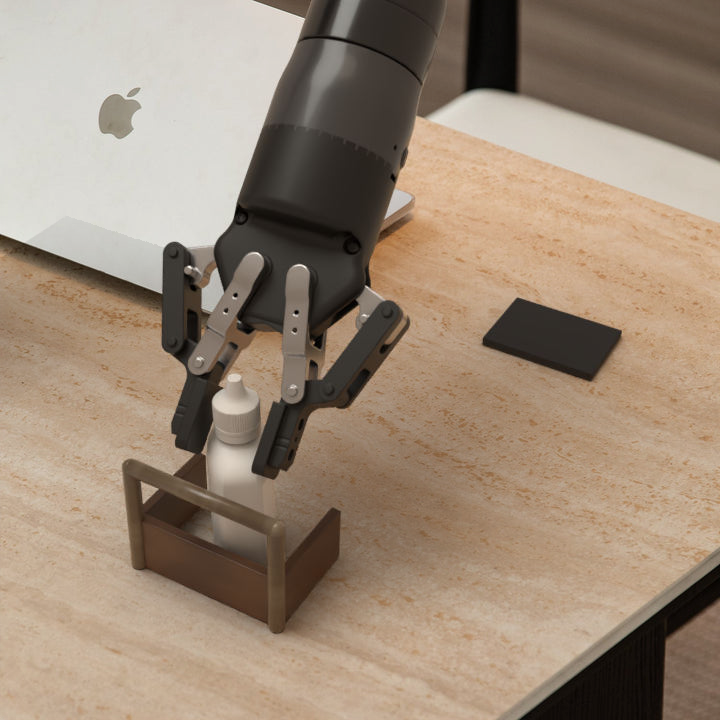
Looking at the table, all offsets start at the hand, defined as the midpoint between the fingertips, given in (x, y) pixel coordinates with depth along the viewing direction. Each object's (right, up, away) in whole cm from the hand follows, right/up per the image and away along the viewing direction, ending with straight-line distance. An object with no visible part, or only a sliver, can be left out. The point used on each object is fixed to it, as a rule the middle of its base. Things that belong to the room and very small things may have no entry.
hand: (225, 462), depth 63 cm
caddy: (0, -5, +6) cm, 8 cm away
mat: (+20, +7, +24) cm, 32 cm away
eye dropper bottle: (0, -6, +6) cm, 8 cm away
